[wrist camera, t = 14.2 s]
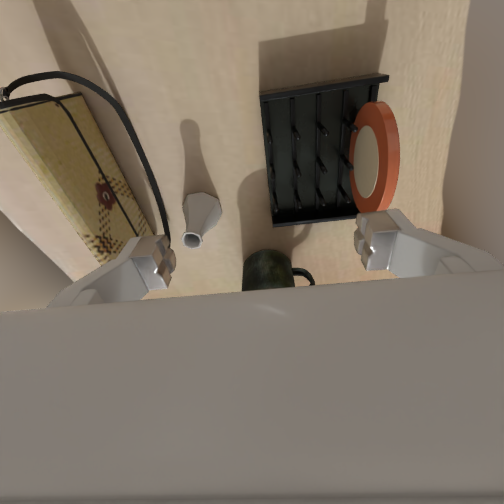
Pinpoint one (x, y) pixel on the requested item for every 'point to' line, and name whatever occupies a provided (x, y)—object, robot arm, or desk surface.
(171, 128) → the desk surface
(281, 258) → the mug
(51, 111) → the clutch purse
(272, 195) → the rack
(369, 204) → the plate
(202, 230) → the flask
